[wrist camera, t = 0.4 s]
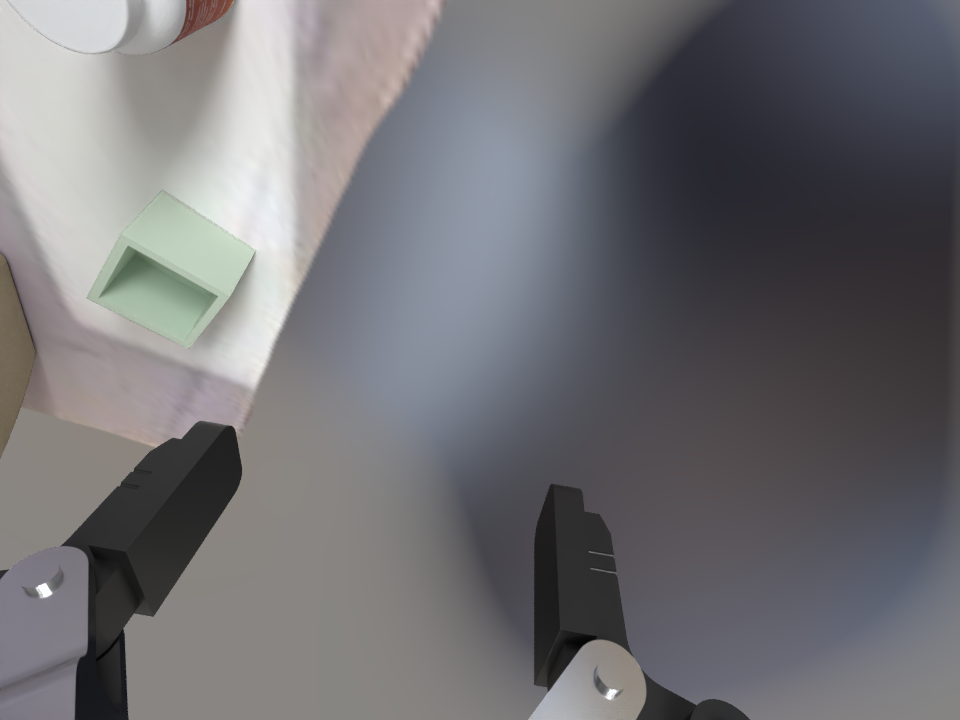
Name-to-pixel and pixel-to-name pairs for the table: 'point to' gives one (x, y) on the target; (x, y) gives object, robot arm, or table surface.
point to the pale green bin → (171, 271)
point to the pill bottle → (118, 22)
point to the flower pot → (12, 354)
